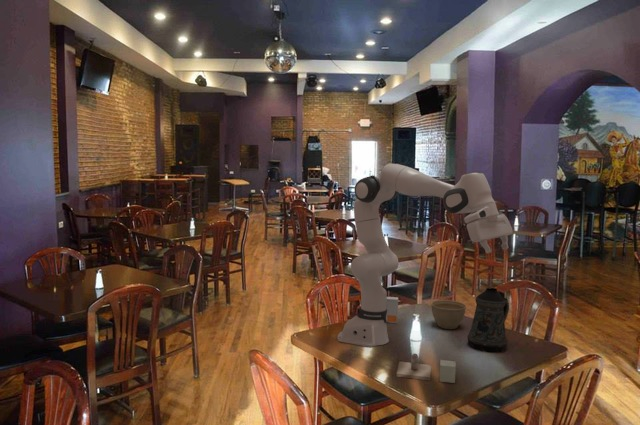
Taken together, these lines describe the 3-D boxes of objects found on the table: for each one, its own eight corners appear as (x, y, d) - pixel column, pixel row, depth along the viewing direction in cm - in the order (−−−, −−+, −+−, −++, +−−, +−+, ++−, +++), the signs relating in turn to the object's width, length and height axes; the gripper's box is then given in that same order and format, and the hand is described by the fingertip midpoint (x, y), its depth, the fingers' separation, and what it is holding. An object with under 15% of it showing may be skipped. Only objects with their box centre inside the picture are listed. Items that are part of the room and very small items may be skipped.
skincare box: (384, 322, 258) (385, 298, 257) (385, 320, 262) (385, 296, 261) (397, 323, 257) (398, 299, 256) (397, 320, 261) (398, 297, 260)
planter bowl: (424, 322, 259) (425, 301, 258) (453, 320, 264) (454, 299, 263) (441, 332, 244) (442, 310, 243) (471, 330, 249) (472, 307, 248)
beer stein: (463, 348, 224) (466, 290, 222) (472, 335, 241) (475, 282, 239) (503, 355, 217) (507, 296, 214) (510, 342, 234) (514, 286, 231)
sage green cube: (439, 381, 189) (440, 365, 189) (439, 375, 195) (440, 359, 194) (454, 383, 188) (455, 366, 187) (454, 377, 193) (455, 361, 193)
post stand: (396, 376, 193) (397, 357, 192) (399, 364, 204) (400, 346, 204) (429, 380, 190) (430, 361, 189) (431, 368, 201) (431, 349, 201)
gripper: (496, 213, 199) (508, 248, 196) (460, 219, 187) (472, 257, 184) (509, 208, 194) (522, 244, 191) (474, 214, 182) (486, 252, 179)
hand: (497, 250), depth 188 cm, fingers open, 8 cm apart
